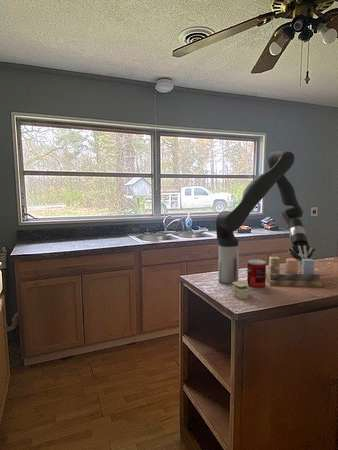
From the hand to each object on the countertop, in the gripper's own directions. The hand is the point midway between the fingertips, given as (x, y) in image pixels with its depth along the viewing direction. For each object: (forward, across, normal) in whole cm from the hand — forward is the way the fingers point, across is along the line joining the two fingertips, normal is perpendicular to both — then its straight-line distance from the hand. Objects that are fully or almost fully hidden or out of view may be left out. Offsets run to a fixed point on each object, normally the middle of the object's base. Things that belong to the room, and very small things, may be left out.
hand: (305, 266), depth 133 cm
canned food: (+12, -24, -3) cm, 27 cm away
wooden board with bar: (+6, -7, +2) cm, 10 cm away
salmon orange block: (+5, -7, 0) cm, 9 cm away
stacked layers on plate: (+23, -32, -13) cm, 41 cm away
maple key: (+3, -14, +3) cm, 15 cm away
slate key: (+5, 0, 0) cm, 5 cm away
